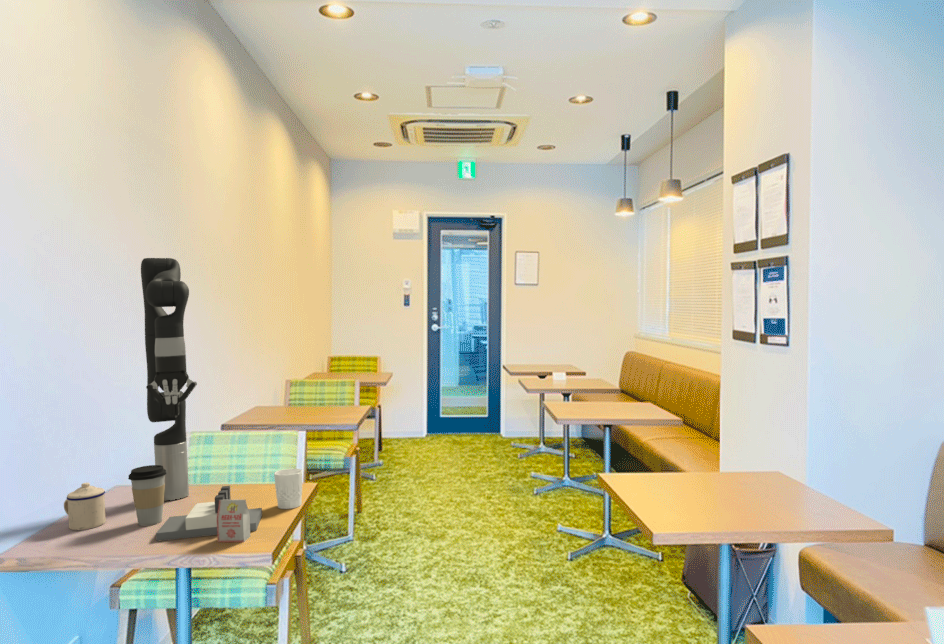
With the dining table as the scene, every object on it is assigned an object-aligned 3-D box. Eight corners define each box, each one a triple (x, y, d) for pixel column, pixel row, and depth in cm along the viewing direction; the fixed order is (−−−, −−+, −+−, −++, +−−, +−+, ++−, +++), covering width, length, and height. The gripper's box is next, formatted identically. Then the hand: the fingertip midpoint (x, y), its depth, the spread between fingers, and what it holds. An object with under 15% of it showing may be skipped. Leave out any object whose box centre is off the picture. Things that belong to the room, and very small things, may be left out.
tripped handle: (220, 505, 168) (219, 490, 168) (228, 504, 169) (227, 489, 169) (218, 508, 166) (218, 493, 166) (226, 507, 166) (226, 492, 166)
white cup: (270, 509, 181) (268, 474, 181) (286, 500, 189) (285, 467, 188) (293, 510, 179) (291, 475, 178) (308, 502, 186) (307, 469, 186)
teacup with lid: (114, 520, 176) (112, 479, 176) (87, 531, 167) (84, 488, 167) (79, 518, 179) (77, 478, 179) (51, 529, 170) (48, 486, 170)
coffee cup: (176, 517, 176) (174, 464, 176) (150, 529, 167) (148, 473, 167) (148, 516, 179) (146, 463, 178) (122, 527, 170) (119, 472, 169)
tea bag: (224, 536, 159) (223, 497, 159) (250, 536, 159) (248, 497, 159) (217, 542, 156) (215, 502, 155) (243, 542, 155) (242, 501, 155)
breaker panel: (170, 524, 171) (168, 490, 171) (262, 514, 176) (260, 481, 176) (156, 541, 158) (154, 504, 158) (256, 530, 163) (254, 495, 163)
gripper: (199, 352, 176) (202, 413, 176) (148, 354, 173) (151, 417, 173) (193, 353, 169) (196, 417, 169) (139, 356, 166) (143, 421, 166)
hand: (173, 417), depth 171 cm, fingers closed
